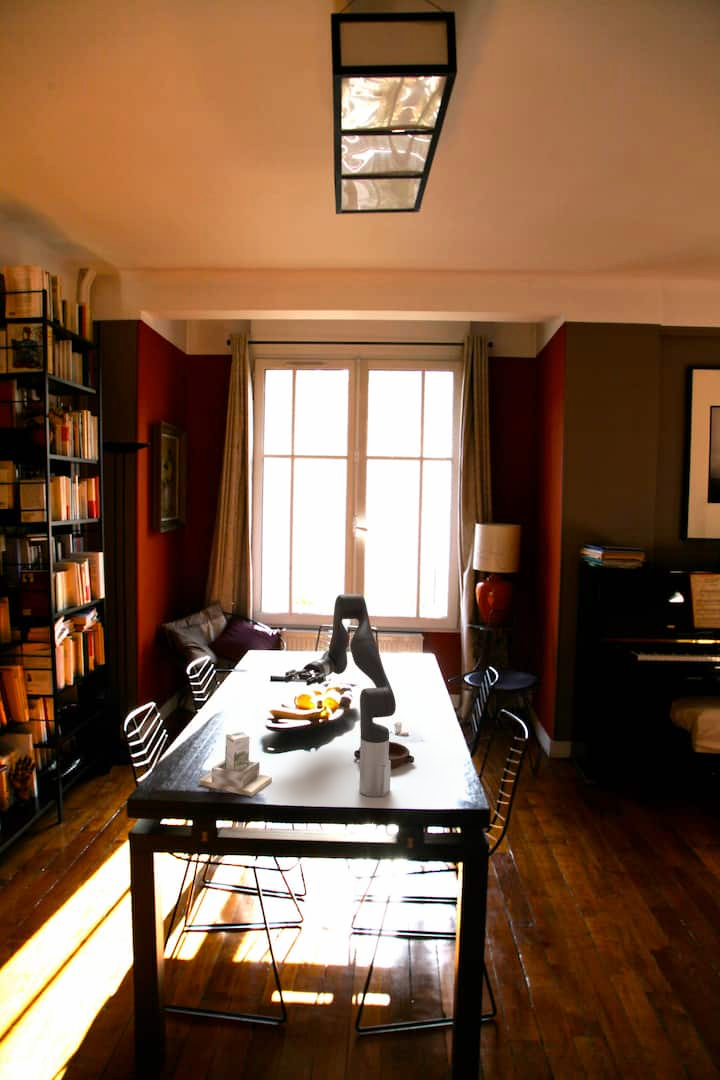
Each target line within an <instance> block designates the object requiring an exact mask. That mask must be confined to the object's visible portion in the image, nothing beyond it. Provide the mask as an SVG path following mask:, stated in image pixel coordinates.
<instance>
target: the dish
mask: <svg viewBox="0 0 720 1080" xmlns="http://www.w3.org/2000/svg"><path fill="white" fill-rule="evenodd" d="M353 757H354V758H355V759H358V760H360V746H359V747H358V749H357V750H354V752H353ZM389 760H390V761H391V769H396V768H399V767H401V766H403V765H405V764H414V762H415V757H414V756H413V755H411V753H410V750H409V748H408V747H406V746H405V745H403V744H401V743H398V742H394V741H389Z"/></svg>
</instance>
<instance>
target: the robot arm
mask: <svg viewBox="0 0 720 1080" xmlns="http://www.w3.org/2000/svg"><path fill="white" fill-rule="evenodd" d="M333 607H334V609H333V619H332V620H333V621H332V633H331V639H330V641H329V642H330V643H329V646H328V650H326V651H325V652H324V653H323V655H322V656H321V658H320V659H316V660H314V661H311V662H309V663H307V664H306V665H304V667H303V668H302V669H301V670H296V669H295V668H294V669H291V670H289V671H286V672H285V675H284V683H286V684H288V683H290V682H293V681H295V682H301V681H302V682H306V686H307V687H308V686H311V685H315V684H318V685H321V684H323V683H324V682H325V681H327V677H328V676H330V675H331V674H333V673H334V674H336V675H342V673H344V672H345V671H346V669H347V667H348V653H347V650H348V647H349V646H350V647H349V648H350V653H351V656H352V660H353V662H354V663H353V664H355V665H356V668H358V669H359V670H360V671H361V672H362V673H363V674H364V675H366V676H367V677H368V678H369V679H370V681H372V683H373V684H374V686H375V687H368V688H363V689H362V690H361V691H360V695H359V715H360V716H359V720H360V721H359V722H360V723H359V725H360V726H359V729H360V730H359V731H360V741H359V742H360V745H359V747H360V759H359V782H358V784H359V786H358V787H359V789H358V790H359V792H360V794H362V795H363V796H367V797H369V798H378V797H380V798H381V797H382V798H384V797H386V795H387V794H388V793H389V791H390V790H391V771H392V770H391V761H390V760H389V742H390V733H389V730H390V729H388V727H386V726H384V725H382V724H379V723H376V722H374V719H376V718H387V717H392V716H393V715H395V714H396V713H395V712H396V708H397V705H396V703H397V702H396V697H395V694H394V691H393V689H392V686H391V683H390V681H389V678H388V677H387V674H386V672H385V669H384V665H383V663H382V662H383V661H382V658H381V655H380V651H379V647H378V644H377V641H376V639H375V636H374V633H373V629H372V625H371V622H370V617H369V611H368V607H367V602H366V599H365V598H364V596H363V595H362V594H359V593H352V594H351V593H344V594H339V595H337V597H336V598H335V602H334V606H333ZM343 620H357V622H358V626H357V628H356V630H355V632H354V634H353V635H352V637H351V640H350V635H349V632H348V630H347V629H346V627H345V626H344V624H343ZM349 643H350V644H349Z"/></svg>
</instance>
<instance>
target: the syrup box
mask: <svg viewBox="0 0 720 1080" xmlns="http://www.w3.org/2000/svg"><path fill="white" fill-rule="evenodd" d="M224 753H225V756H224V758H225V769H227V770H231V771H236V772H241V771H242V770H244V769H245V768H247V767H248V766H249V760H250V735H248V734H247V733H245V732H244V731H241V730H240V731H236V732H232V733H228V734H225V751H224Z"/></svg>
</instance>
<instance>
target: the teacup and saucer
mask: <svg viewBox="0 0 720 1080" xmlns="http://www.w3.org/2000/svg"><path fill="white" fill-rule="evenodd" d="M393 723H394V724H393V725H394V727H393V728H392V729H388V730H389V735H390V734H391V735H393V734H394V736H396V735H395V733H396V732H397V733H396V734H399V735H400V736H407V735H408V734H409V733H410V732H409V730H407V729H404V728H403V723H402V722H400V721H396V722H393ZM393 729H395V730H393ZM390 730H393V731H394V732H395V733H393V732H392V733H393V734H392V733H390Z"/></svg>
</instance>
